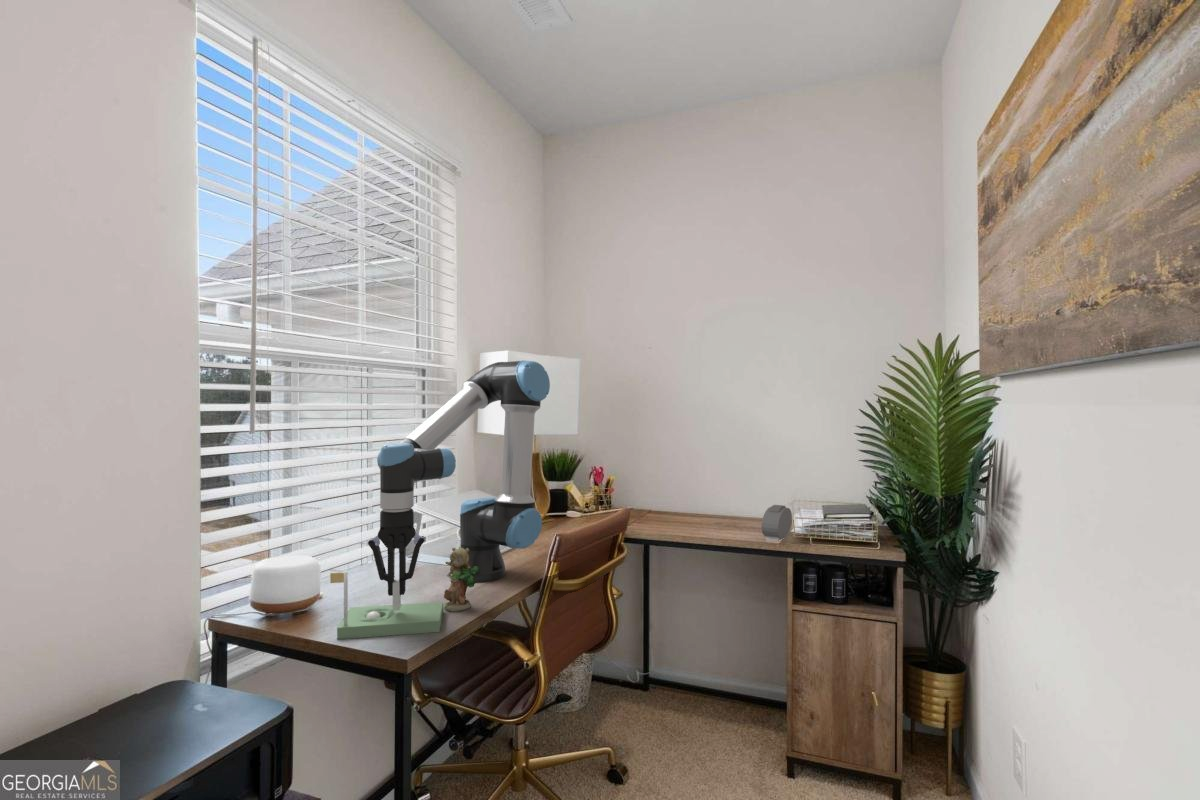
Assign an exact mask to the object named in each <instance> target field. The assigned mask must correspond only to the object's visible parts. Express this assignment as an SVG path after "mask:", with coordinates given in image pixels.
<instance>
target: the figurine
mask: <svg viewBox="0 0 1200 800" xmlns="http://www.w3.org/2000/svg"><path fill="white" fill-rule="evenodd" d="M451 549H452V552H451V553H450V555H449V560H450V561H445V562H444V564H445V565H448V566H450V569H449V572H448V573H447V574H446V577H448V578H449V579H450V586H449V588H447V589H444V594H443V598H444V600H446V601H448V602H447V603H446V604H444V610H445V611H448V612H453V613H454V612H461V611H464V610H468V609H469V608H471V607H472V604H471V602H470V600H468V599H467V598H466V594H467V590H468V589H467V588H473V587H475V584H476V582H475V581H474V579H475V578H474V577H473V576H474V575H475V574H476V573H478V571H479V567H476V566H475V567H474V568H471V567H470V566H469V563H468V561H469V554H468V551H470V550H469V548H466V550H465V549H464V548H462V547H461V546H460V547H458V548H456V547H452V548H451ZM470 568H471V569H470Z"/></svg>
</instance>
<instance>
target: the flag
mask: <svg viewBox="0 0 1200 800" xmlns="http://www.w3.org/2000/svg"><path fill="white" fill-rule="evenodd" d="M329 574H330V577H329V578H330V579H329V580H330V581H329V582H330V584H340V583H343V618H344V626H347V625H348V610H349V607H348V606H349V605H348V603H349V601H348V600H349V596H348V594H349V589H348V587H349V583H348V581H349V577H348V575H349V573H348V571H343V572H341V571H340V572H330V573H329Z"/></svg>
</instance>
